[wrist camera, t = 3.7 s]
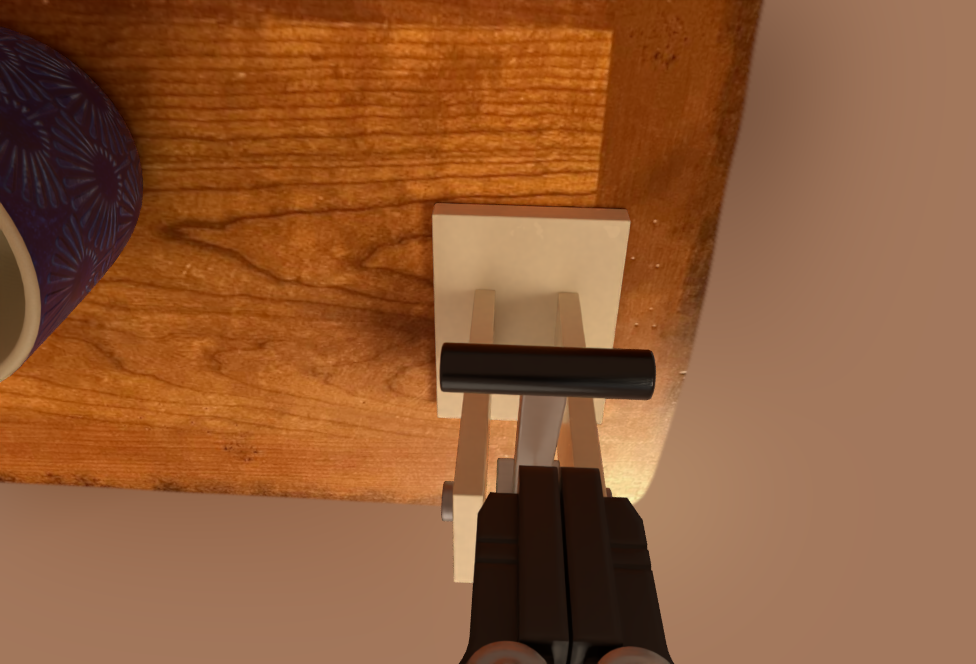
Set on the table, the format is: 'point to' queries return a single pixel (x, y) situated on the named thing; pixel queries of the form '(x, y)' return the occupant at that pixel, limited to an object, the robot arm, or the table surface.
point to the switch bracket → (520, 325)
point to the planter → (56, 191)
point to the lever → (543, 388)
